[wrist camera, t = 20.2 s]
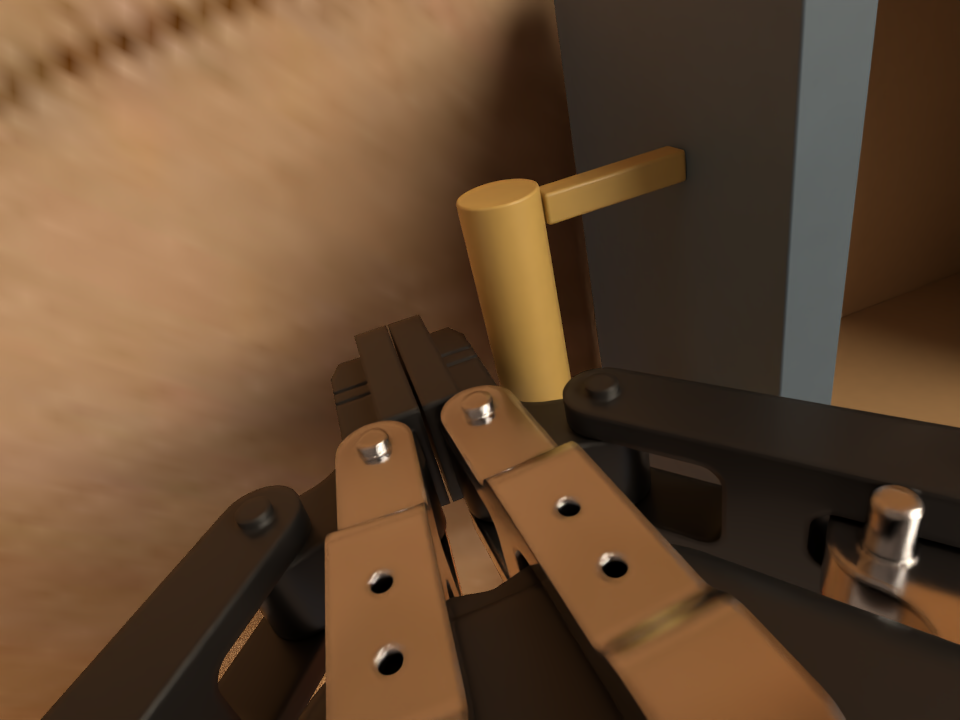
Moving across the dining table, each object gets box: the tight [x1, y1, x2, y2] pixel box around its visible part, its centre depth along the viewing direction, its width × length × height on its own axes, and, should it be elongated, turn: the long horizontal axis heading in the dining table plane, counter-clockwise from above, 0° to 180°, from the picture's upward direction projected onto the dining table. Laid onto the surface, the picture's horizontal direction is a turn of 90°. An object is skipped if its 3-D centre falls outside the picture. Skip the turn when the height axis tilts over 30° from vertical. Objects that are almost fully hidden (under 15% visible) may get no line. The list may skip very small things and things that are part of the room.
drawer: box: [456, 0, 960, 485], centre depth 15 cm, size 21×13×8 cm, turn 103°
